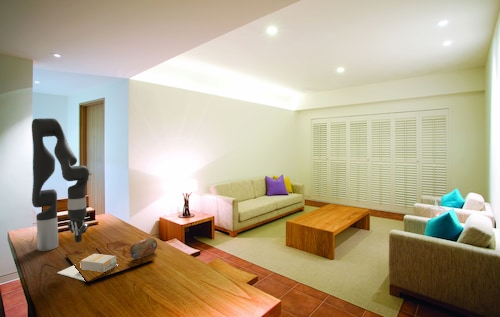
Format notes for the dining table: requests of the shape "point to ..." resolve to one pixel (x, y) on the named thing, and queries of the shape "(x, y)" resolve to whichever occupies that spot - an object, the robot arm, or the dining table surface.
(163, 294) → the dining table surface
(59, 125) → the robot arm
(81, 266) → the supplement box
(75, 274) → the felt mat
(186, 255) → the dining table surface
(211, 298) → the dining table surface
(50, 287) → the dining table surface
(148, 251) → the tin
